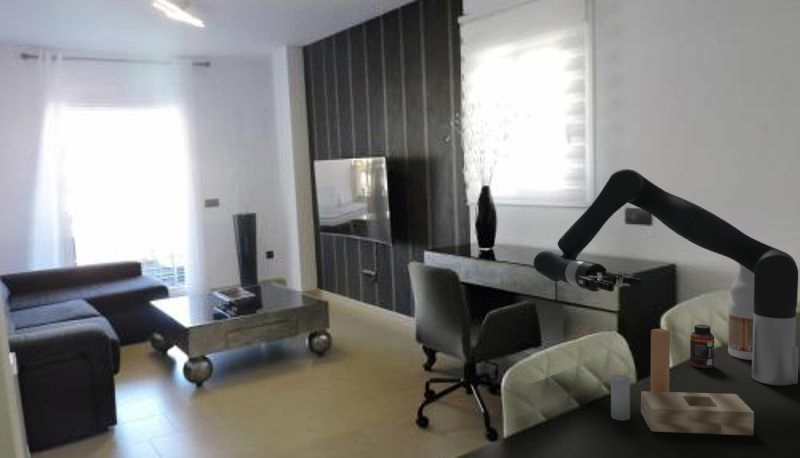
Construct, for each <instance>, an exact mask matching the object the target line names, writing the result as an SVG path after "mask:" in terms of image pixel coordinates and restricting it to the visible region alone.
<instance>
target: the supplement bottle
mask: <svg viewBox="0 0 800 458" xmlns="http://www.w3.org/2000/svg"><path fill="white" fill-rule="evenodd" d="M693 327H694V329H693V330H694V331H693V332H691V333H690V337H689V338H690V339H689V364H690V365H691V366H693V367H695V368H698V369H711V368H713V367H714V364H715V335H714V334H713V333H712V332H711V325H707V324H701V323H700V324H694V326H693Z"/></svg>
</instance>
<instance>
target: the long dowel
mask: <svg viewBox="0 0 800 458" xmlns="http://www.w3.org/2000/svg"><path fill="white" fill-rule="evenodd" d="M670 336H671V331H670V330H669V329H665V328H653V329H651V330H650V391H652V392H670V372H671V371H670V370H671V368H670V363H671V361H670V360H671V359H670V357H671V355H670V351H671V347H670V345H671V337H670Z"/></svg>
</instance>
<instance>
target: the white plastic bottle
mask: <svg viewBox="0 0 800 458" xmlns="http://www.w3.org/2000/svg"><path fill="white" fill-rule="evenodd" d="M738 266H739V269H738V272H737V274H736V275H735V278H734V280H733V282H732V283H731V285H730V286H729V295H730V297H731V300H730V302H729V304H728V305H729V307H728V333H727V334H728V338H727V339H728V340H727V342H728V344H727V346H728V347H727V351H728V354H729V355H730V356H731V357H734V358H736V359H741V360H747V361H749V360H750V361H752V349H753V309H754V305H753V304H754V273H752V272H751V271H750V270H748V269H747V268H745V267H744V266H742V265H741V264H739V263H738Z"/></svg>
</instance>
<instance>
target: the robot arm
mask: <svg viewBox="0 0 800 458" xmlns="http://www.w3.org/2000/svg"><path fill="white" fill-rule="evenodd" d="M627 204H630V205H632V206H634V207H637V208H638V209H641V210H643V211H645V212H647V213H648V214H651V215H652V216H653V217H655V218H656V219H657V220H658V221H660V222H661V223H662V224H663V225H664V226H666V227H667V228H669V229H670V230H671V231H672V232H673V233H675V234H677V235H678V236H680V237H682V238H683V239H685V240H687V241H689V242H690V243H691V244H694V245H695V246H698V247H700V248H702V249H705V250H707V251H710V252H713V253H715V254H718V255H721V256H724V257H726V258H728V259H731V260H732V261H734V262H736V263H737V264H738V265H739V264H741V265H742V266H744V267H745V268H747V269H748V270H750V271H751V272H752V273H754V304H753V305H754V309H753V349H752V360H751V378H752V379H753V380H755V381H756V382H759V383H762V384H765V385H772V386H790V385H797V384H798V381H799V379H798V378H799V377H798V375H799V353H800V352H799V350H800V349H799V347H798V346H797V345H796V330H797V329H796V324H797V308H798V296H799V295H798V291H799V269H798V265H797V262H796V261H795V259H794V258H793V256H791V255H790V254H789V253H787V252H786V251H783V250H780V249H778V248H775V247H774V246H770V245H768V244H766V243H764V242H761V241H759V240H758V239H754V238H753V237H751V236H749V235H747V234H746V233H744V232H743V231H741V230H739V229H738V228H737V227H735V226H734V225H732V224H731V223H729V222H728V221H726V220H724V219H723V218H721V217H720V216H718V215H716V214H715V213H713V212H711V211H709V210H707V209H705V208H703V207H702V206H699V204H696V203H693V202H692V201H690V200H687V199H684V198H682V197H680V196H678V195H675V194H672V193H670V192H668V191H666V190H664V189H662V188H660V186H658V185H656V184H654V183H653V182H652V181H651V180H649V179H648V178H646V177H644V176H643V175H642V174H640V173H639V172H638V171H636V170H634V169H629V168H622V169H619V170H616V171H615V172H612V174H611V175H610V176H609V179H608V180H607V181H606V184H605V185H604V187H603V188H602V190H601V191H600V192H599V194H598V195H597V197H596V198H595V199H594V200H593V202H592V204H591V205H589V206H588V208H587V209H586V210H585V211H584V213H583V214H582V215H581V216H580V217H578V219H576V221H575V222H574V223H573V224H572V225H571V226H570V227H569V228H568V229H567V230H566V231H565V233H564V234H563V235H562V236H561V237H560V238H559V240H558V241H557V247H558V248H559V250H560V251H561V252H562V255H560V254H558V253H556V252H553V251H551V250H543V251H542V250H541V251H540V252H538V253H537V255H536V256H535V257H534V258H533V267H534V269H535V270H536V272H537V273H538V274H540V275H542V276H544V277H546V278H547V279H549V280H551V281H553V282H560V281H561V282H563V283H566V284H569V285H572V286H574V287H577V288H580V289H582V290H586V291H589V292H599V291H601V290H603V291H607V292H614V291H615V288H622V287H623V286H624V287H632V288H635V289H641V288H643V279H640V278H638V276H637V275H636V274H632V273H627V272H622V271H618V272H613V271H610V270H609V271H607V269H606V267H605V266H604V265H603V264H601V263H596V262H593V261H587V260H580V259H578V257H579V255H580V254H581V253H582V252H583V250H585V248H586V247H587V246H588V245H589V244H590V243H591V242H592V241H593V240H594V238H595V237H596V236H597V234H598V233H599V232H600V231H601V229H602V228H603V226H604V225H605V224H606V223H607V221H608V220H609V219H611V218H612V216H613V215H614V214H615V213H616V212H617V211H619V210H620V209H621V208H622V207H624V206H625V205H627ZM618 282H619V283H618Z"/></svg>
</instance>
